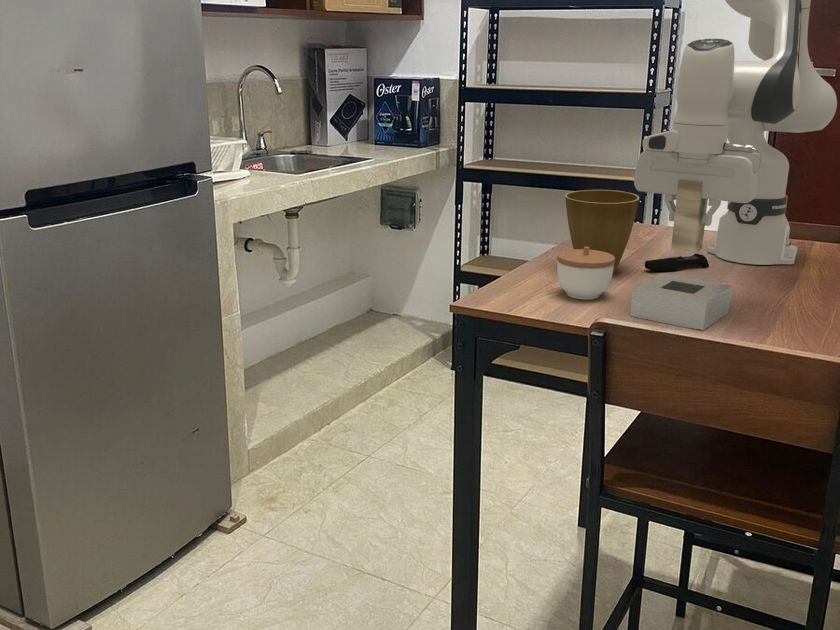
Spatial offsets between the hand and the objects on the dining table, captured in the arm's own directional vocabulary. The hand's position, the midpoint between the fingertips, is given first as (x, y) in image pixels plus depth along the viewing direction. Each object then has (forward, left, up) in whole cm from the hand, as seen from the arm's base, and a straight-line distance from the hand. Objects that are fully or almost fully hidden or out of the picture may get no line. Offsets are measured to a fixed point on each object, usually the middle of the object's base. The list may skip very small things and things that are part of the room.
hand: (689, 223), depth 145 cm
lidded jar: (0, -19, -17) cm, 25 cm away
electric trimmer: (-30, -12, -17) cm, 37 cm away
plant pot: (-18, -25, -17) cm, 35 cm away
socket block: (0, 0, -17) cm, 17 cm away
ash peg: (0, 0, -5) cm, 5 cm away
